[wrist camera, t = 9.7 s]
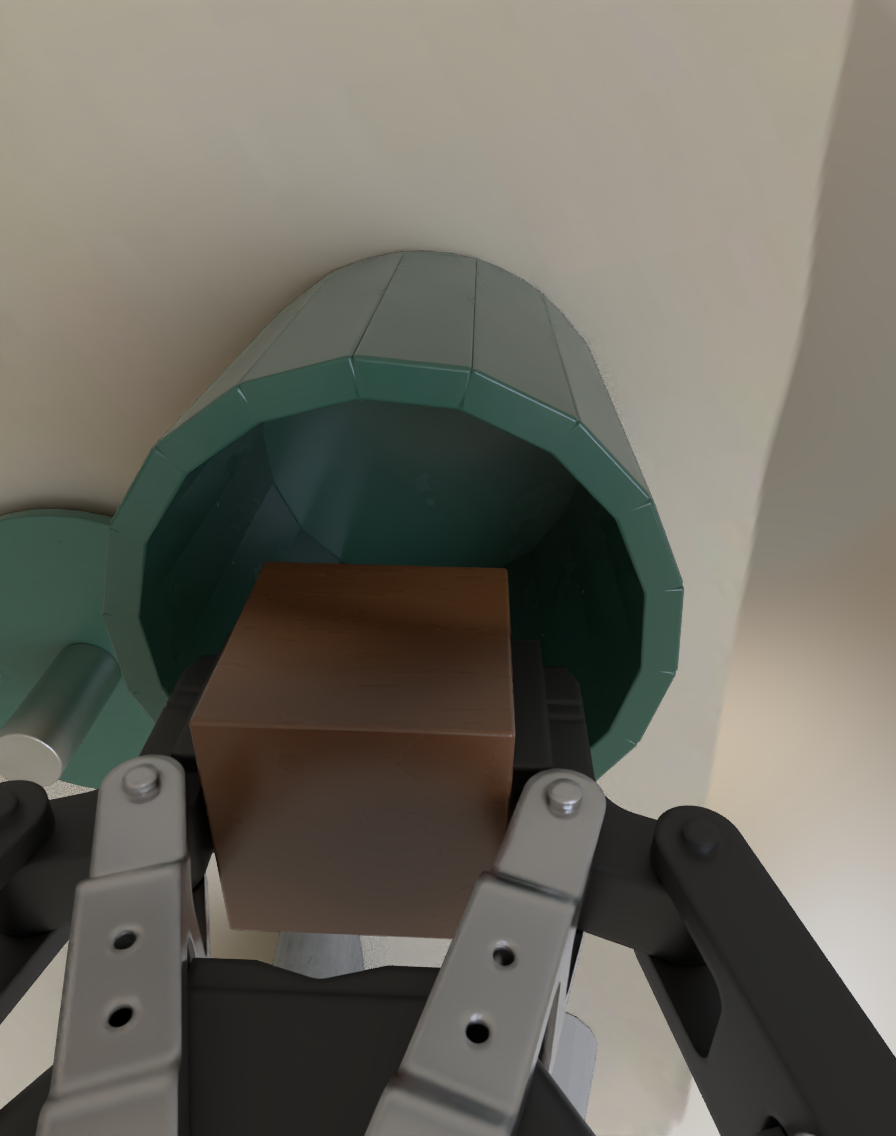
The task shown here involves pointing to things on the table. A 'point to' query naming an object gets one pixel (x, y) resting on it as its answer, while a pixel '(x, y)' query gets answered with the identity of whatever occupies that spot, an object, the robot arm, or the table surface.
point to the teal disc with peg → (60, 654)
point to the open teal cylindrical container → (407, 482)
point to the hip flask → (319, 954)
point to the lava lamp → (575, 1062)
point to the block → (359, 747)
